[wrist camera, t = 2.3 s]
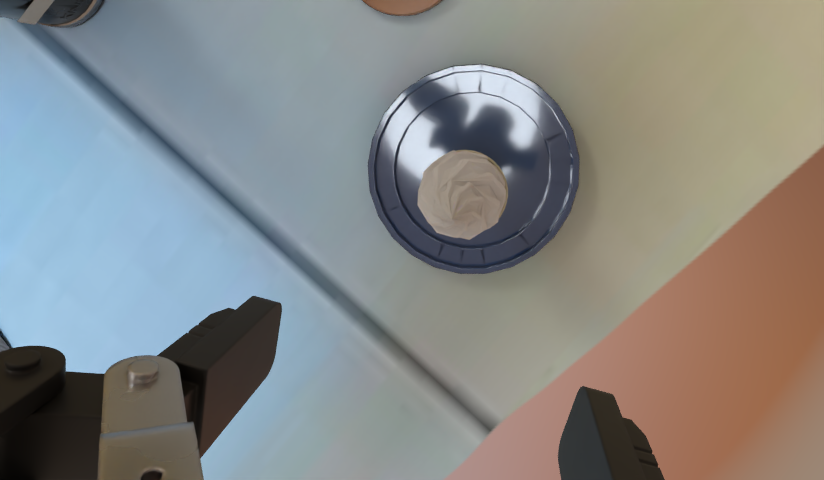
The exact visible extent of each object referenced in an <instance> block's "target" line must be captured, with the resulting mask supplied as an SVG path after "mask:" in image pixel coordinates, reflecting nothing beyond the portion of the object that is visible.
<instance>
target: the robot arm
mask: <svg viewBox="0 0 824 480" xmlns="http://www.w3.org/2000/svg"><path fill="white" fill-rule="evenodd" d="M102 1H103V0H0V17H4V18H9V19H16V20H18V21H17V22H21V23H28V24H36V23H39V24H42V25H46V26H52V27H60V28H67V27H73V26H76V25H79V24H81V23H83V22H85V21H86V20H88V19H89V18H90V17H91V16H92V15H93V14H94V13H95V12H96V11H97V10H98V8H99V7H100V5H101V3H102ZM281 312H282V306H281V303H279V302H275V301H271V300H268V299H264V298H260V297H257V296H252V297H251V298H249V299H248V300H247V301H246V302H245V303H243V304H242V305H241V306H240V307H239V308H237V309H236V310H234V309H231V308H227V309H224V310H221V311H218V312H216V313H213V314H210V315H209V316H208V317H207V318H205V319H204V320H203V321H201V322H200V323H199V325H196V326H195V327H194V328H192V329H191V330H190V331H189V333H186V334H185V335H183V336H182V337H181V338H179V339H178V340H177V341H176V342H174V343H173V344H172V345H170V346H169V347H168V348H166V349H165V350H164V351H163V352H161V353H160V354H159V355H157V356H150V355H144V356H135V357H130V358H127V359H123V360H121V361H119V362H117V363H115V364H113V365H112V366H111V367H110V368H109V369H108V370H107V371H106V373H105V374H95V373H80V372H66V359H65V356H64V355H63V354H62V353H61V352H60V351H58V350H56V349H53V348H50V347H45V346H23V347H16V348H12V349H8V350H4V351H1V352H0V480H204V479H203V473H202V467H201V461H200V458H201V457H202V456H203V455H204V453H205V452H206V451H207V450H208V448H209V447H210V446H211V445H212V443H213V442H214V441H215V440H216V439H217V437H218V436H219V435H220V434H221V432H222V431H223V430H224V429H225V427H226V426H227V425H228V424H229V423H230V421H231V420H232V419H233V418H234V416H235V415H236V414H237V413H238V411H239V410H240V409H241V408H242V406H243V405H244V404H245V403H246V402H247V400H248V399H249V398H250V397H251V395H252V394H253V393H254V392H255V390H256V389H257V388H258V387H259V386H260V384H261V383H262V382H263V381H264V379H265V378H266V377H267V375H268V374H269V372H270V370H271V367H272V365H273V362H274V358H275V353H276V347H277V340H278V333H279V326H280V320H281ZM558 462H559V468H560V474H561V480H665V479H664V477H663V475H662V473H661V470H660V468H658V463H657V461H656V459H655V456H654V455H653V454H652V449H651V447H650V445H649V442H648V440H647V438H646V436H645V435H644V433H643V432H642V431H641V430H640V429H639V428H638V427H637V426H636V425H635V424H634V423H633V421H632V420H630V419H626V418H623V417H622V415H621V413H620V410H619V407H618V405H617V402H616V400H615V397H614V396H613V395H612V394H610V393H606V392H602V391H599V390H595V389H591V388H587V387H584V386H582V387H581V388H580V389H579V391H578V393H577V395H576V398H575V401H574V403H573V406H572V409H571V412H570V415H569V417H568V420H567V423H566V425H565V428H564V431H563V434H562V437H561V440H560V444H559V452H558Z"/></svg>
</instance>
